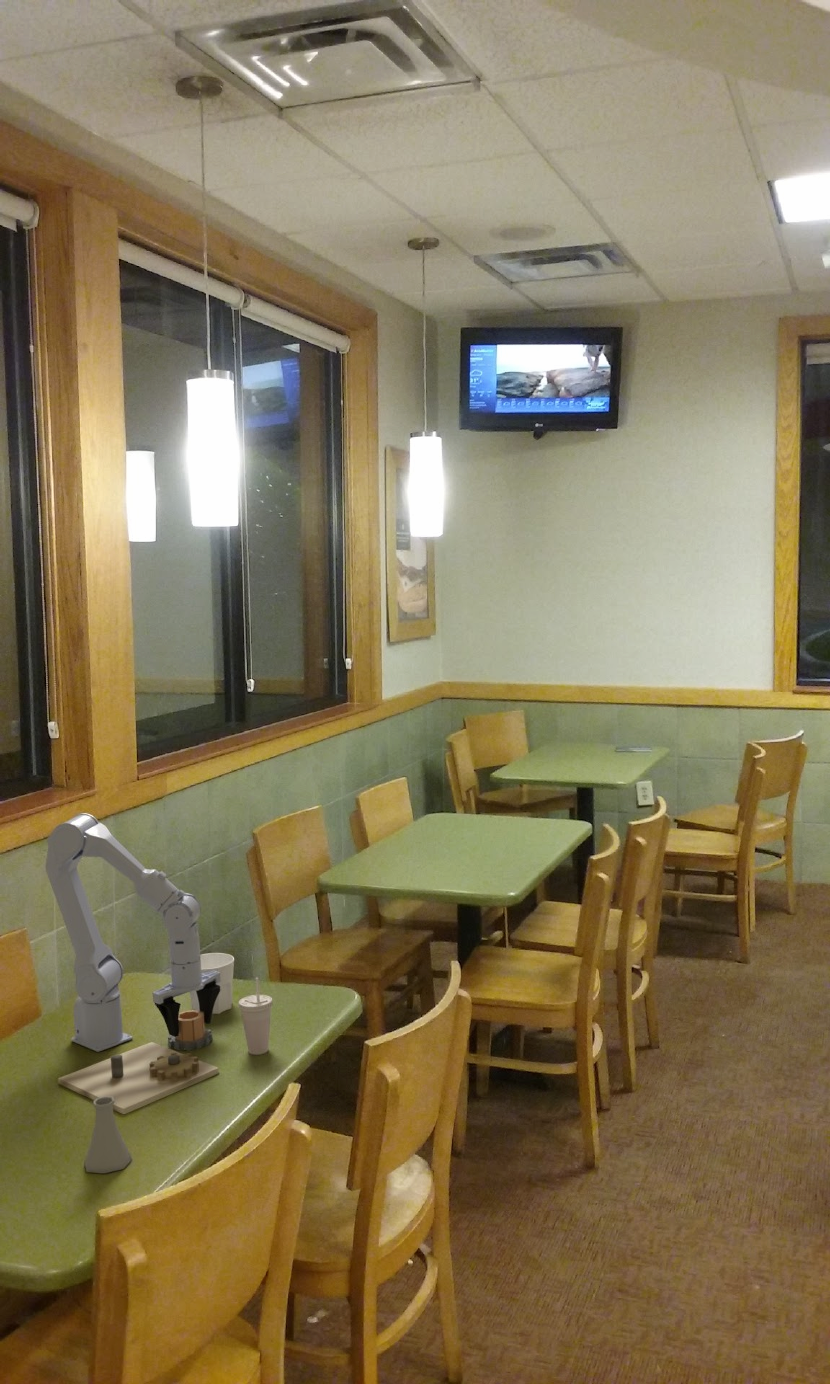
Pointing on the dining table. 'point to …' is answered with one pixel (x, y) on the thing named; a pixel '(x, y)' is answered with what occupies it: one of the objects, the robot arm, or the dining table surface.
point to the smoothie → (256, 1020)
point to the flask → (106, 1141)
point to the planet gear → (190, 1031)
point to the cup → (225, 967)
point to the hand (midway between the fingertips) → (190, 1028)
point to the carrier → (139, 1076)
